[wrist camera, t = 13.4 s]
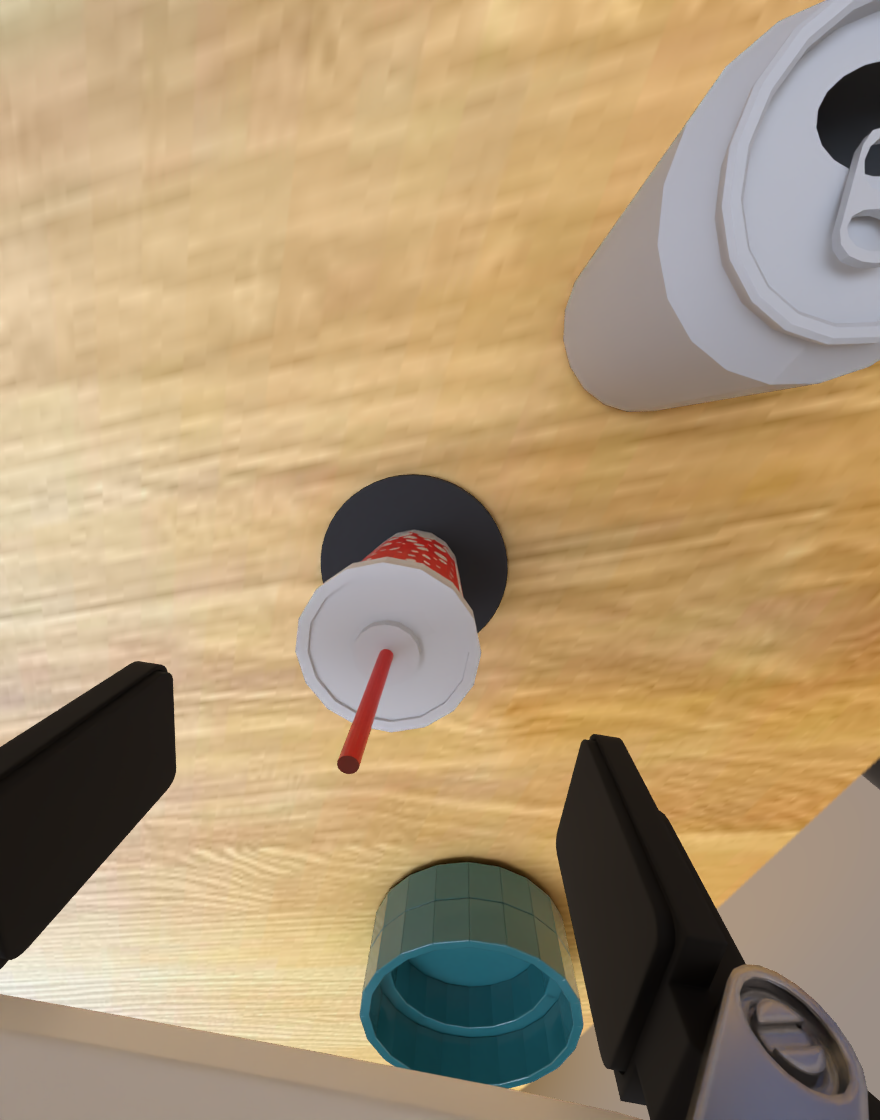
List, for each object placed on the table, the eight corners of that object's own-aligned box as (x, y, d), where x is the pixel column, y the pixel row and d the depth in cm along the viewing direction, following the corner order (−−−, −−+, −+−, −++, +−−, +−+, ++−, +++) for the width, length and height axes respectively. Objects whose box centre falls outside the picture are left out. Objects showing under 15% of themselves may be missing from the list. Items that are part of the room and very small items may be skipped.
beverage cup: (338, 541, 22) (151, 693, 9) (445, 496, 21) (421, 586, 8) (387, 640, 24) (291, 902, 10) (490, 601, 23) (534, 832, 9)
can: (748, 245, 18) (1234, -89, 7) (697, 424, 20) (1004, 398, 9) (578, 221, 18) (775, -149, 7) (543, 402, 21) (651, 348, 9)
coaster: (522, 488, 22) (524, 490, 21) (489, 662, 24) (490, 667, 24) (329, 461, 22) (326, 462, 21) (318, 637, 24) (315, 642, 24)
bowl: (581, 872, 28) (606, 960, 23) (541, 1005, 32) (556, 1105, 27) (385, 843, 28) (370, 925, 23) (368, 978, 32) (352, 1073, 27)
